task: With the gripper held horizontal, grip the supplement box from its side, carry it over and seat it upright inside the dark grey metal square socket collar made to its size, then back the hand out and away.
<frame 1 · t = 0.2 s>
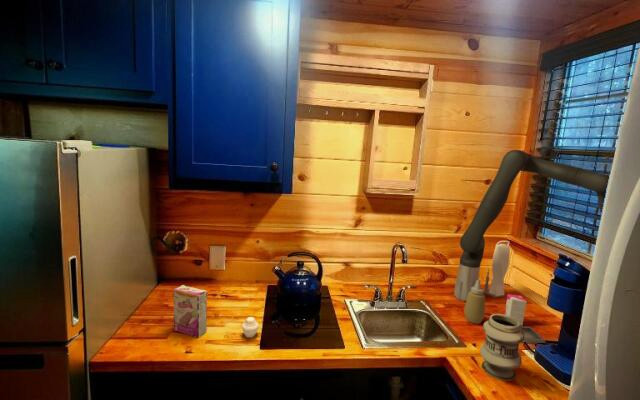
hand: (629, 269, 125), 31 cm above the countertop, tool tilted 20°, fingers open, 8 cm apart
white lidded pot: (250, 335, 125), on the countertop
candy bar box: (190, 332, 125), on the countertop
supplement box: (512, 323, 145), on the countertop
socket collar: (524, 336, 134), on the countertop
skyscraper: (495, 294, 174), on the countertop
apothecary jar: (497, 371, 111), on the countertop
squeeze bottle: (473, 321, 145), on the countertop
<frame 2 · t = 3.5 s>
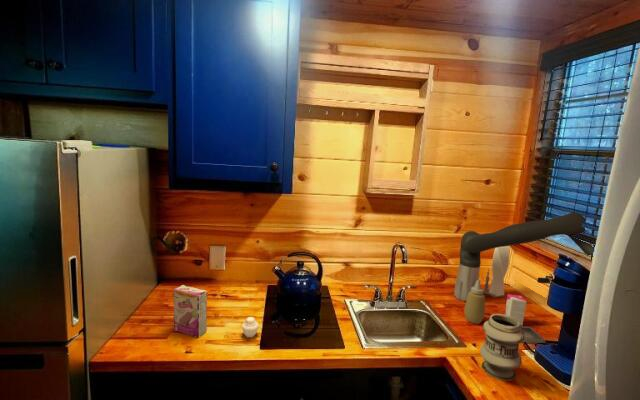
hand: (543, 284, 142), 18 cm above the countertop, tool horizontal, fingers open, 8 cm apart
nothing on the countertop moved.
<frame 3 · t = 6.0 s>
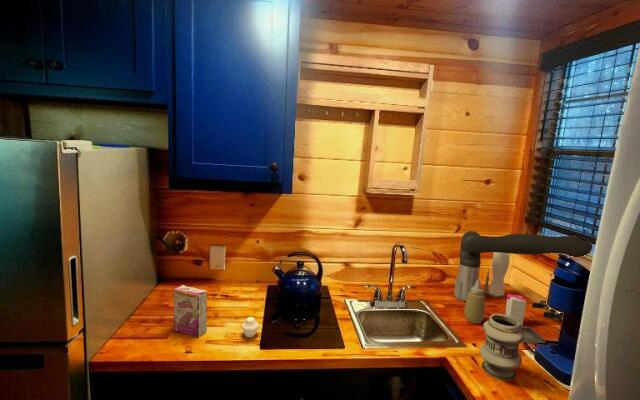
hand: (538, 309, 143), 7 cm above the countertop, tool horizontal, fingers open, 8 cm apart
nothing on the countertop moved.
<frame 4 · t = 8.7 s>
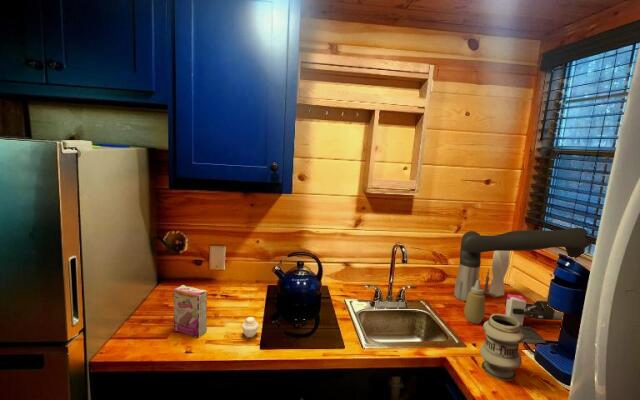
hand: (509, 307, 144), 7 cm above the countertop, tool horizontal, fingers closed on supplement box, 6 cm apart
supplement box: (512, 322, 145), on the countertop, touching gripper
everything else where it was.
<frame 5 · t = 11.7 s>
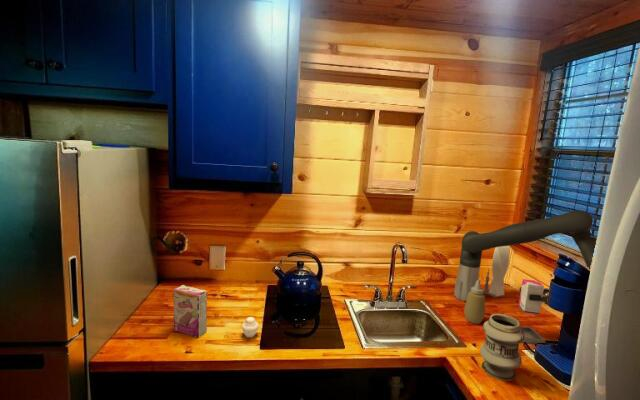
hand: (524, 293, 132), 18 cm above the countertop, tool horizontal, fingers closed on supplement box, 6 cm apart
supplement box: (528, 310, 132), point 11 cm above the countertop, touching gripper
everything else where it was.
when the fingers open (8 cm above the countertop, at t = 14.2 s): supplement box stays where it is, resting on socket collar.
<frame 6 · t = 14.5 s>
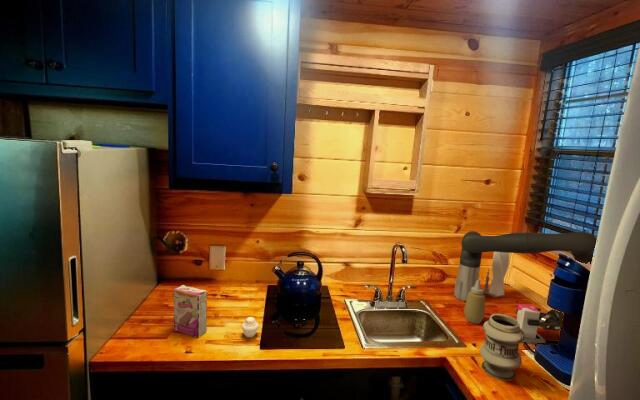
hand: (522, 317, 133), 8 cm above the countertop, tool horizontal, fingers open, 8 cm apart
supplement box: (524, 335, 134), resting on socket collar
everything else where it was.
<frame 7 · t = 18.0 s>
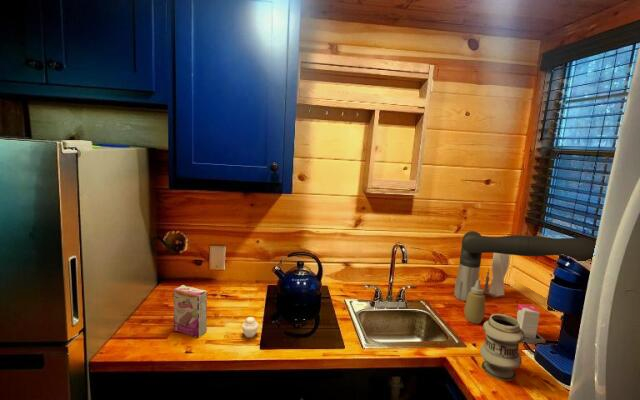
hand: (554, 312, 132), 11 cm above the countertop, tool horizontal, fingers open, 8 cm apart
nothing on the countertop moved.
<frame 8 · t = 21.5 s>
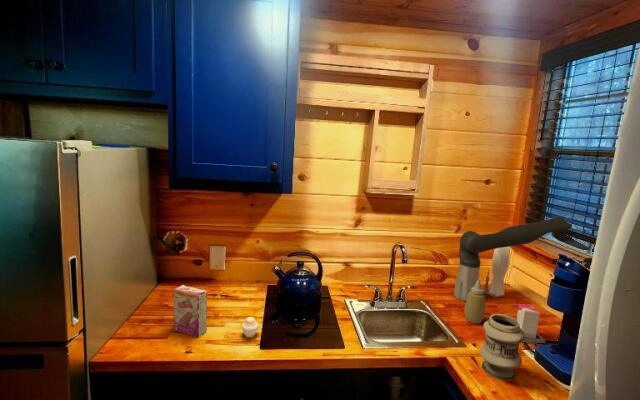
hand: (558, 264, 136), 28 cm above the countertop, tool horizontal, fingers open, 8 cm apart
nothing on the countertop moved.
at the end: supplement box 0.1 cm off-centre on the socket collar, point 0.2 cm above the socket collar's base; supplement box tilted 0°; the gripper is holding nothing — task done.
